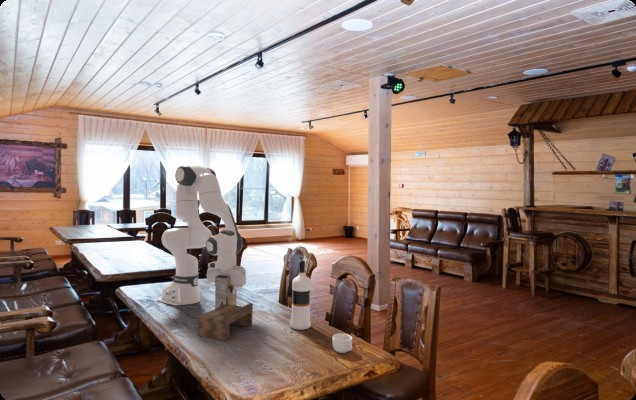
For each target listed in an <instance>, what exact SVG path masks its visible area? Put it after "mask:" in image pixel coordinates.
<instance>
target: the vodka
mask: <svg viewBox="0 0 636 400" xmlns="http://www.w3.org/2000/svg"><path fill="white" fill-rule="evenodd" d="M298 262H299V263H298V275H297V276H295V277H294V278H293V279H292V283H291V285H292V286H291V288H292V289H291V290H292V295H291V297H292V299H291V300H292V301H291V302H292V303H291V316H290V321H289V322H290V323H289V326H290V327H291V329H293V330H296V331H297V330H298V331H306V330H308V329H309V328H311V326H312V324H311V323H312V322H311V316H310V314H311V313H310V312H311V311H310V310H311V289H312V287H311V285H312V281H311V278H309V277H308V276H307V275H305V273H306V269H305V268H306V261H305V260H299V261H298ZM305 329H306V330H305Z"/></svg>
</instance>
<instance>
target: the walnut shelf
mask: <svg viewBox="0 0 636 400" xmlns="http://www.w3.org/2000/svg"><path fill="white" fill-rule="evenodd" d="M253 304H254V303H248V304H246V305H244V306H241V305H237V304H236V305H229V304H225V305H223V306H220V307H218V308H216V309H215V308H214V309H211V310H210V311H207V312H205V313H203V314H202V315H199V316H198V327H197V328H198V331H197V332H198V333H197V334H198V336H199V337H205V338H210V339H214V340H215V339H216V340H219V341H224V342H227V341H230V329H231V325H230V324H232V325H236V326H237V325H238V326H243V327H253V311H254V310H253V306H254V305H253Z"/></svg>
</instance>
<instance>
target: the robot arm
mask: <svg viewBox="0 0 636 400" xmlns="http://www.w3.org/2000/svg"><path fill="white" fill-rule="evenodd" d="M174 177H175V181H176V182H177V187H176V193H175V194H176V195H175V215H176V217H177V219H178V220H180V221H182V222H184V223H186V225H187V227H174V228H169V229H166V230H164V231H163V233H162V235H161V243H162V245H163V247H164V248H165V249H167V250H168V251H169V252H170V253H171V254H172V256H173V257H174V261H175V274H174V275H172V276H171V279H172V280H173V281H172V282H170V283H169V284H167V286H165V287H164V288H163V289H162V292H161V296H159V297H158V298H157V299H156V301H157V302H160V303H163V304H167V305H168V304H169V305H172V306H181V305H183V306H186V305H193V304H196V303H197V304H198V303H199V302H201V297H200V291H199V279H200V276H199V272H198V271H199V261H198V258H197V257H196V256H194V255H192V254H190V253H188V249H189V250H190V249H201V248H206V252H207V253H208V254H210V255H211V256H217V260H214V261H211V262H208V264H207V267H208V268H207V270H206V272H207V273H206V281H207V282H208V283H214V285H215V284H216V276H218V275H225V276H230V285H233V288H234V289H233V290H231V294H233V295H234V294H235V290H236V289H238V287H244V286H246V284H247V275H246V274H247V270H246V268H245V267H244V266H239V265H237V254H239V253H240V252H241V250H242V249H243V247H244V243H243V238H242V237H241V235H240V233H239V230H238V227H237V223H236V222H235V218H234V215H233V213H232V210H231V207H230V206H229V204H227V203H226V201H225V200H224V198H223V196H222V191H221V186H220V184H219V181H218V178H217V173H216V172H215V170H213V169H212V168H210V167H204V166H199V165H188V164H183V165H181V166H180V165H179V166H178V168H177V169H176V171H175V176H174ZM198 201H199V204H198ZM199 205H200V206H201V208H202V209H203V211H205V212H207V213H210V214H212V215H215V216H218V217H219V218H220V219H222V221H223V224H224V227H225V229H223V230H220V231H218V234H214V235H213V234H212V231H211V230H210V229H209V228H208V227H206V225H204V223H203V222H202V221H201V218H200V215H199Z"/></svg>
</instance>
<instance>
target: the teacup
mask: <svg viewBox="0 0 636 400" xmlns="http://www.w3.org/2000/svg"><path fill="white" fill-rule="evenodd" d="M331 339H332V347H333V349H334V351H336V352H337V353H340V354H346V353H348V352H351V351H352V350H353V345H352V343H353V336H351V335H350V334H347V333H336V334H332V338H331Z"/></svg>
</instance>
